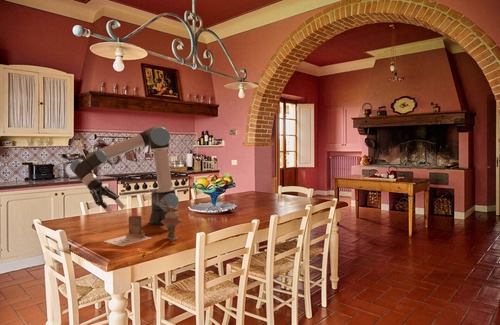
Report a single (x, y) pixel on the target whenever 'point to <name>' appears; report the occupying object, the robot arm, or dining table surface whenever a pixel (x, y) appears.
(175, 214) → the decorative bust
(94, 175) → the robot arm
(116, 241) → the marked board
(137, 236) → the block
